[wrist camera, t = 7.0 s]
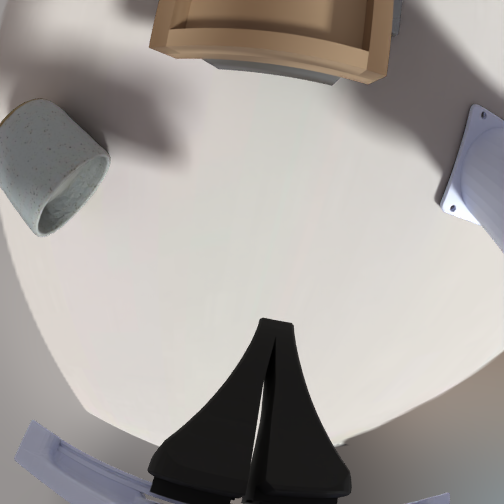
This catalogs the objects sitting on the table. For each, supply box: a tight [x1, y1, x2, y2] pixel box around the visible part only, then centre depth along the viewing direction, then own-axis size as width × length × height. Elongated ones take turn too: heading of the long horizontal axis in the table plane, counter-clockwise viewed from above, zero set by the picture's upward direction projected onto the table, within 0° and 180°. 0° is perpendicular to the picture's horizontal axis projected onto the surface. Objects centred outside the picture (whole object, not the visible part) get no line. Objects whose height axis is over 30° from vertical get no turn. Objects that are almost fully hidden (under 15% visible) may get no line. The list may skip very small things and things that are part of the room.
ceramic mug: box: [0, 98, 110, 237], centre depth 16 cm, size 11×8×8 cm
